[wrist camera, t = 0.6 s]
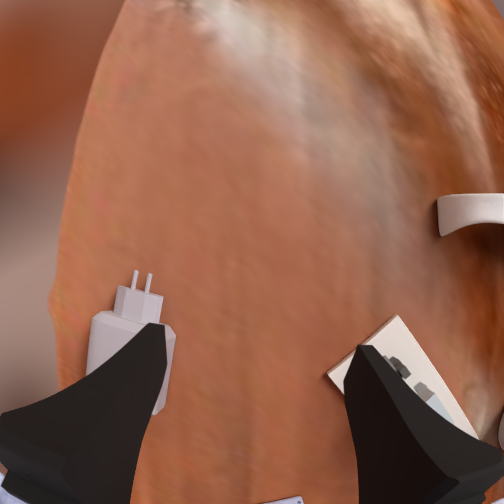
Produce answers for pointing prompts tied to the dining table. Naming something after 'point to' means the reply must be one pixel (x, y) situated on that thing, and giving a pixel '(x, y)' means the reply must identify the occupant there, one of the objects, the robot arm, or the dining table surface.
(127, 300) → the charger
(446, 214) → the spoon rest
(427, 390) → the light grey sliding block
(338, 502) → the dining table surface
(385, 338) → the white slide rail base
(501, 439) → the cylinder vase
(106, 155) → the dining table surface
